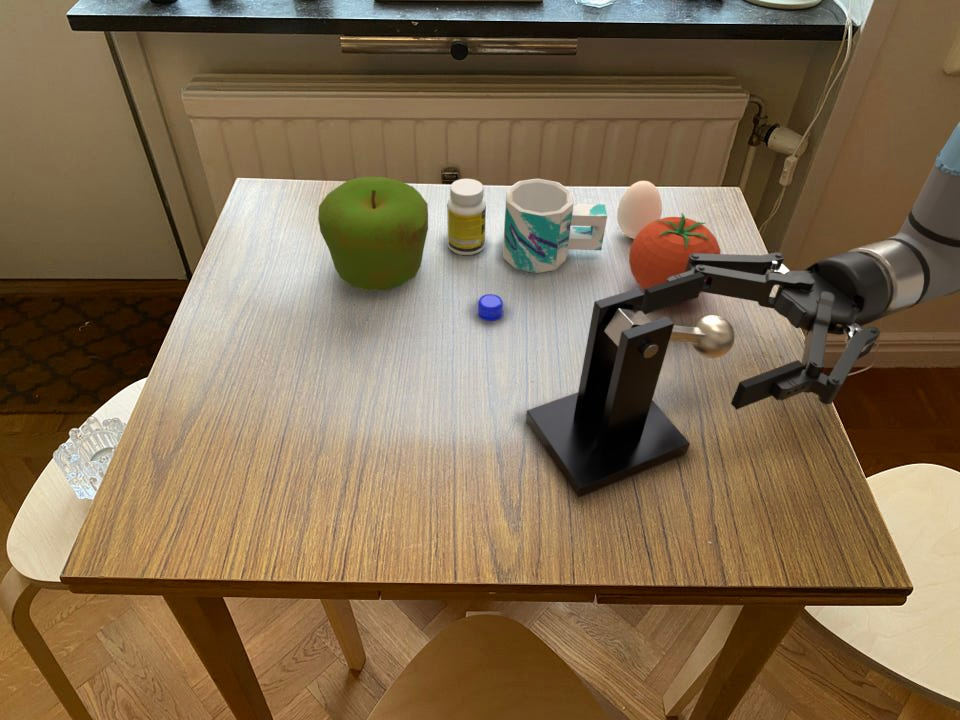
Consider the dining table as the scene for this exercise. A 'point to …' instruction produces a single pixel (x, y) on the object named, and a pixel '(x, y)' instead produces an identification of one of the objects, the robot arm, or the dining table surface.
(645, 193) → the egg
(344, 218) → the apple
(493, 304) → the bottle cap
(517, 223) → the mug
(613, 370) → the tap bracket
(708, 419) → the dining table surface
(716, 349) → the lever
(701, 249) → the tomato
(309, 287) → the dining table surface
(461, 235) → the supplement bottle
